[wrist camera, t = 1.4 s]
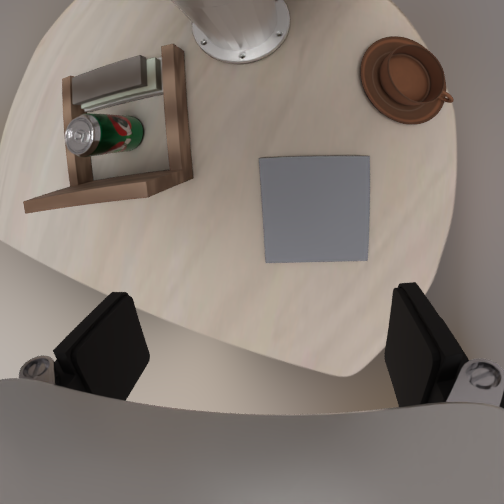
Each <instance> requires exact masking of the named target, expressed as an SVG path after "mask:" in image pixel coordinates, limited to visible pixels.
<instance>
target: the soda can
mask: <svg viewBox="0 0 504 504" xmlns="http://www.w3.org/2000/svg"><path fill="white" fill-rule="evenodd" d="M142 137H143V128H142V125H141V123H140V121H139V120H138V119H137V118H135V117H132V116H123V115H108V114H89V113H86V114H82V115H79V116H78V117H77V118H74V119H73V120H72V121H71V122H70V123H69V125H68V126H67V129H66V132H65V143H66V146H67V148H68V150H69V151H70V152H71V153H73V154H75V155H77V156H79V157H90V156H96V155H103V154H110V153H117V152H125V151H131V150H133V149H135V148H136V147H137V146H138V145H139V144H140V142H141V140H142Z"/></svg>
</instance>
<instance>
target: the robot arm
mask: <svg viewBox="0 0 504 504" xmlns="http://www.w3.org/2000/svg"><path fill="white" fill-rule="evenodd" d="M171 1H172V2H173V3H174V4H175V5H176V6H177V7H178V8H179V9H180V10H181V11H182V12H183V13H184V14H185V15H186V16H187V17H188V18H189V19H190V20H191V21H192V31H193V36H194V38H195V40H196V42H197V44H198V45H199V46H200V48H201V49H202V50H203V51H204V52H206V53H207V54H208V55H210V56H211V57H213V58H215V59H217V60H219V61H223V62H227V63H235V64H239V63H249V62H253V61H257V60H259V59H262V58H264V57H266V56H268V55H269V54H271V53H273V52H274V51H275V50H276V49H277V48H278V47H279V46H280V45H281V44H282V43H283V41H284V40H285V38H286V36H287V34H288V31H289V27H290V15H289V10H288V8H287V5H286V3H285V2H284V0H277V1H276V2H275V0H171ZM279 34H280V35H282V36H281V37H278V35H279ZM205 43H207V44H206V45H204V44H205ZM242 56H245V58H244V59H242ZM53 352H54V354H55V356H56V358H57V360H56V361H55V362H54V361H53V359H52V358H51V357H49V356H37V357H35V358H32V359H30V360H29V361H27V362H26V363H25V364H24V365H23V366H22V367H21V369H20V372H19V378H10V379H2V380H0V504H504V370H503V369H502V368H501V367H500V366H499V365H498V364H496V363H495V362H493V361H490V360H487V359H473V360H470V361H469V360H468V358H467V356H466V355H465V353H464V352H463V350H462V348H461V347H460V345H459V344H458V342H457V340H456V339H455V338H454V336H453V334H452V333H451V331H450V330H449V328H448V327H447V325H446V324H445V322H444V321H443V319H442V318H441V317H440V316H439V315H438V313H437V312H436V310H435V309H434V307H433V306H432V305H431V303H430V302H429V300H428V299H427V297H426V296H425V295H424V293H423V292H422V290H421V289H420V288H419V286H418V285H417V284H416V283H415V282H413V283H400V284H399V286H398V288H394V290H393V296H392V305H391V313H390V321H389V328H388V335H387V341H386V347H385V362H386V365H387V368H388V371H389V375H390V378H391V381H392V384H393V387H394V391H395V394H396V398H397V401H398V404H399V407H397V408H386V409H378V410H369V411H357V412H345V413H330V414H300V415H263V414H236V413H220V412H206V411H196V410H186V409H177V408H169V407H161V406H155V405H148V404H142V403H135V402H130V401H126V399H127V397H128V396H129V394H130V392H131V391H132V389H133V387H134V385H135V384H136V382H137V381H138V379H139V377H140V376H141V374H142V372H143V371H144V369H145V367H146V366H147V364H148V362H149V359H150V354H149V350H148V347H147V345H146V342H145V338H144V335H143V332H142V329H141V326H140V322H139V319H138V316H137V313H136V308H135V305H134V301H133V299H132V297H131V296H129V295H128V293H126V292H112V293H111V294H110V295H108V296H107V297H106V298H105V299H104V300H103V301H102V302H101V303H100V304H99V305H98V306H97V307H96V308H95V309H94V310H93V311H92V312H91V313H90V314H89V315H88V316H87V317H86V318H85V319H84V320H83V321H82V322H81V323H80V324H79V325H78V326H77V327H76V328H75V329H74V330H73V331H72V332H71V333H70V334H69V335H68V336H67V337H66V338H65V339H64V340H63V341H62V342H61V343H60V344H59V345H58V346H57V347H56V348H55V349H54V350H53Z"/></svg>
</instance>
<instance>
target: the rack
mask: <svg viewBox="0 0 504 504" xmlns="http://www.w3.org/2000/svg"><path fill="white" fill-rule="evenodd" d="M161 51H162V57H160V58H155V57H154V58H150V59H146V58H145V57H143V56H141V55H139V56H135V57H132V58H128V59H125V60H122V61H119V62H115V63H112V64H109V65H106V66H103V67H100V68H97V69H95V70H92V71H89V72H86V73H84V74H81V75H78V76H76V77H74V76H68V77H66V78H64V79H62V96H63V120H64V134H65V132H66V129H67V126H68V125H69V123H70V122H71V121H72V120H73V119H74V118H77V117H78V116H79V115H82V114H86V113H87V112H93V111H96V110H100V109H103V108H107V107H111V106H114V105H118V104H122V103H126V102H130V101H134V100H139V99H143V98H147V97H152V96H157V95H162V94H164V109H165V123H166V135H167V146H168V157H169V167H170V170H164V171H156V172H148V173H140V174H133V175H126V176H120V177H113V178H107V179H101V180H95V181H93V173H92V165H91V156H90V157H79V156H77V155H75V154H73V153H71V152H70V151H69V150H68V148H67V146H66V143H65V146H66V156H67V165H68V173H69V181H70V187H67V188H64V189H61V190H57V191H54V192H51V193H48V194H45V195H42V196H39V197H36V198H33V199H30V200H27V201H24V202H23V203H24V209H25V214H26V213H32V212H38V211H45V210H51V209H58V208H65V207H72V206H79V205H86V204H94V203H102V202H110V201H119V200H128V199H137V198H147V197H150V196H152V195H155V194H157V193H159V192H162V191H164V190H166V189H169V188H171V187H173V186H176V185H178V184H181V183H183V182H186V181H188V180H190V179H193V170H192V160H191V149H190V137H189V125H188V112H187V97H186V82H185V64H184V51H183V50H181V49H180V48H179V47H177V46H176V45H174V44H170V45H165V46H161Z"/></svg>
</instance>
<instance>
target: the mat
mask: <svg viewBox="0 0 504 504" xmlns="http://www.w3.org/2000/svg"><path fill="white" fill-rule="evenodd" d="M259 166H260V181H261V196H262V211H263V227H264V244H265V260H266V263H289V262H334V261H368V243H369V216H370V156H298V157H273V158H259Z"/></svg>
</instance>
